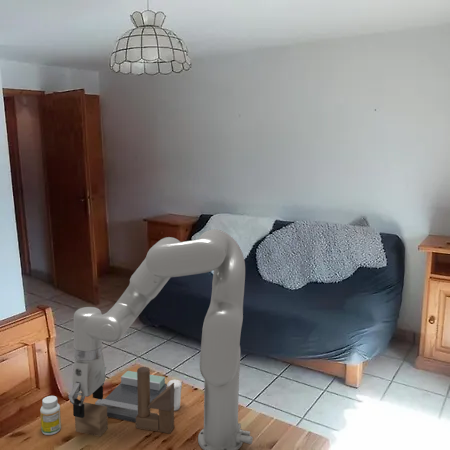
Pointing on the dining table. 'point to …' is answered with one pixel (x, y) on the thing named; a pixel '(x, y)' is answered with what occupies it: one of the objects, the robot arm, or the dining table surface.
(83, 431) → the walnut block
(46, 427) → the supplement bottle
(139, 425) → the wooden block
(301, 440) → the dining table surface
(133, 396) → the vise base
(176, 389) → the milkshake
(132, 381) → the block
